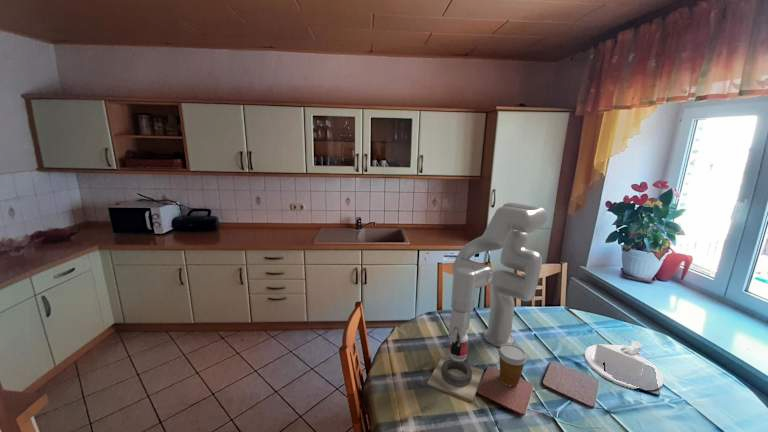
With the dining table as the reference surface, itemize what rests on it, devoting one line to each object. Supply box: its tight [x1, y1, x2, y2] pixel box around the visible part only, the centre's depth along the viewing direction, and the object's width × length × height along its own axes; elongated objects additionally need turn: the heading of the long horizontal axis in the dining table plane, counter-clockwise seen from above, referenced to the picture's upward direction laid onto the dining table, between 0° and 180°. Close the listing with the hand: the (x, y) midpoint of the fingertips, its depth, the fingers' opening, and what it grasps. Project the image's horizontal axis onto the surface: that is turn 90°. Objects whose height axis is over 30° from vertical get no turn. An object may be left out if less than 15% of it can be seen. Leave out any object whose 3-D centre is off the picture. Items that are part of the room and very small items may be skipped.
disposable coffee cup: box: [497, 344, 528, 387], centre depth 116 cm, size 10×10×12 cm
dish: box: [584, 340, 665, 390], centre depth 124 cm, size 25×25×11 cm
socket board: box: [427, 356, 484, 403], centre depth 117 cm, size 16×16×4 cm
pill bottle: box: [448, 329, 469, 362], centre depth 114 cm, size 6×6×11 cm
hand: (458, 348), depth 114 cm, fingers closed on pill bottle, 6 cm apart
